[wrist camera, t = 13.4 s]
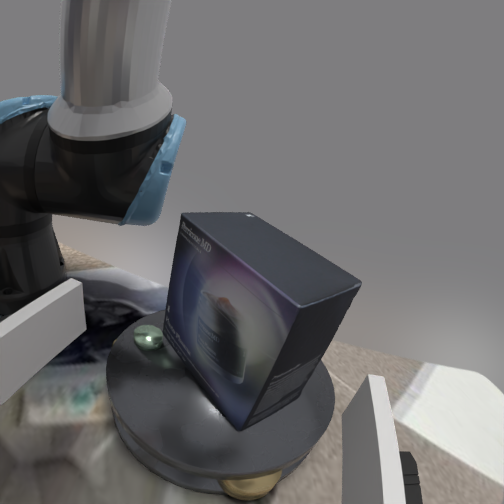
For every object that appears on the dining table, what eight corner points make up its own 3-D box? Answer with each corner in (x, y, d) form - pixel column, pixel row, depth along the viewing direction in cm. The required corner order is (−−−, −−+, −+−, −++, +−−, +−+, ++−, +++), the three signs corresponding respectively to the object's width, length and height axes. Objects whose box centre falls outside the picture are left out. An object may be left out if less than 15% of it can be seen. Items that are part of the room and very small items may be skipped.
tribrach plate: (62, 424, 15) (45, 381, 14) (158, 318, 32) (161, 278, 30) (305, 516, 13) (338, 491, 11) (318, 367, 30) (335, 330, 28)
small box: (155, 333, 22) (175, 207, 18) (219, 318, 26) (250, 210, 22) (236, 436, 15) (300, 303, 11) (301, 397, 20) (367, 280, 16)
